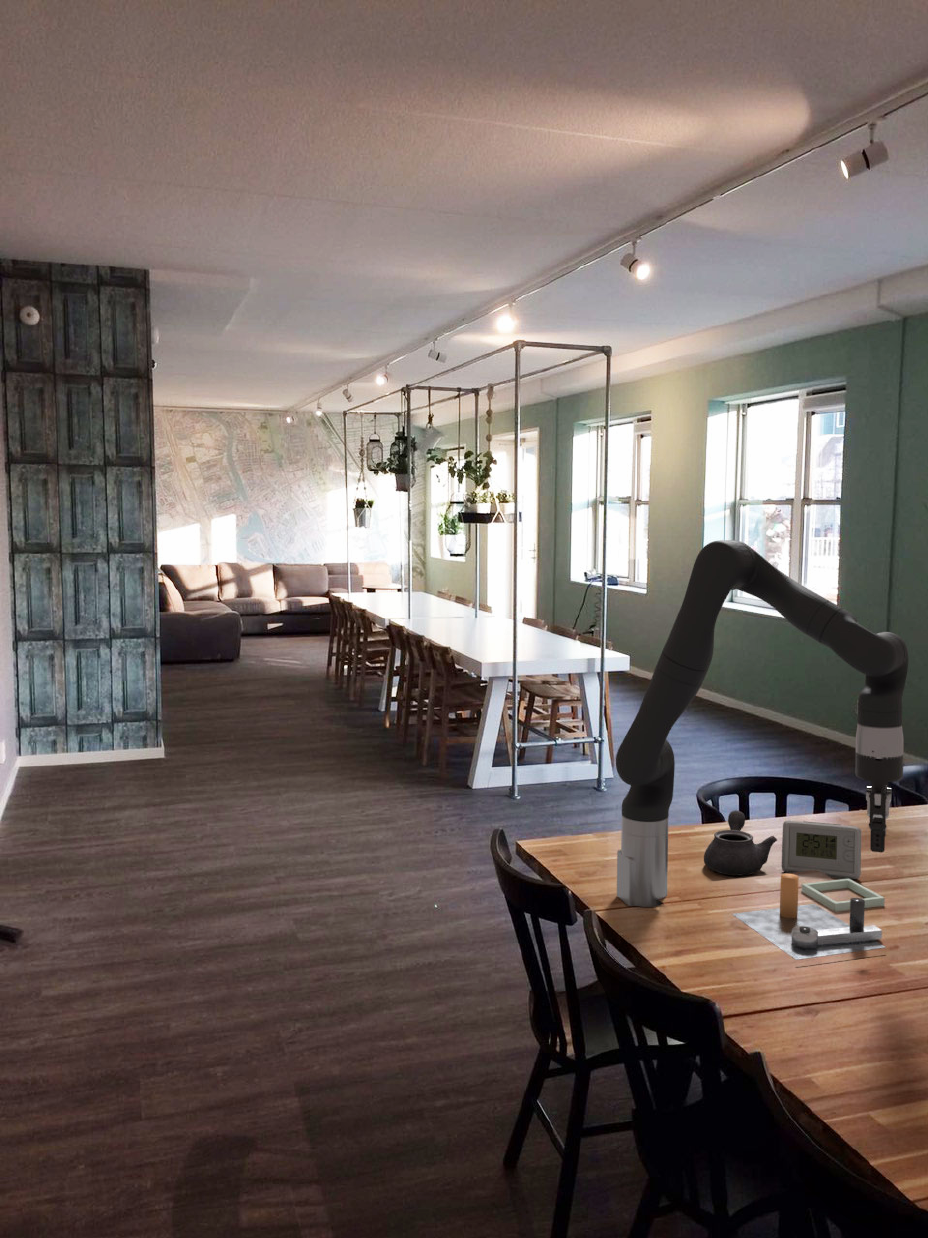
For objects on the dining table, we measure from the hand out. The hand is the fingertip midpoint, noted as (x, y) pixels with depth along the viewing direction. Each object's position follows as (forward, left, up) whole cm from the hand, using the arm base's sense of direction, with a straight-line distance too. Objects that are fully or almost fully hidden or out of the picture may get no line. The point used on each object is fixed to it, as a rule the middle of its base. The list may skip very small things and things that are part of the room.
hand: (878, 844), depth 176 cm
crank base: (-6, +12, -21) cm, 25 cm away
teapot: (+3, +50, -21) cm, 55 cm away
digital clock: (+17, +40, -21) cm, 49 cm away
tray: (+10, +23, -21) cm, 33 cm away
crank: (-4, +6, -19) cm, 20 cm away
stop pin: (-5, +19, -19) cm, 27 cm away
